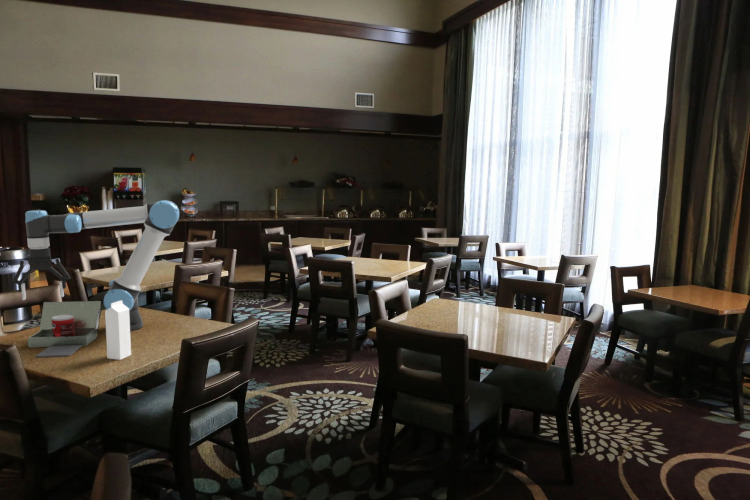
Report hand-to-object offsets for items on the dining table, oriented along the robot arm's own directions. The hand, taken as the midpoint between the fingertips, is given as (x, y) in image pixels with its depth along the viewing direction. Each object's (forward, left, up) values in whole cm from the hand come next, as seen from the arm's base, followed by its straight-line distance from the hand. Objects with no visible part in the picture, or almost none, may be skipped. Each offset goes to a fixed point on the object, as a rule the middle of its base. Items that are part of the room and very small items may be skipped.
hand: (43, 298), depth 211 cm
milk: (-36, +24, -19) cm, 47 cm away
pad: (-11, +15, -19) cm, 26 cm away
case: (-8, -1, -19) cm, 20 cm away
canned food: (-8, +2, -19) cm, 21 cm away
